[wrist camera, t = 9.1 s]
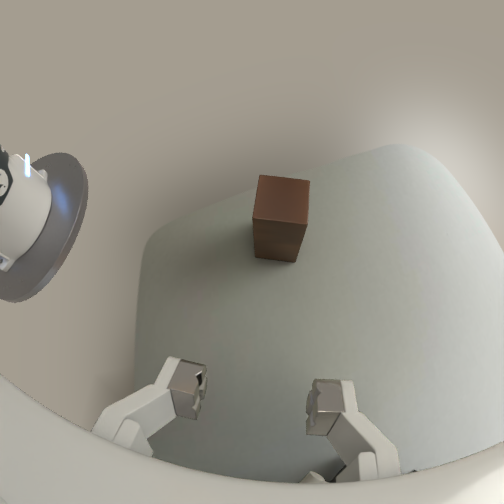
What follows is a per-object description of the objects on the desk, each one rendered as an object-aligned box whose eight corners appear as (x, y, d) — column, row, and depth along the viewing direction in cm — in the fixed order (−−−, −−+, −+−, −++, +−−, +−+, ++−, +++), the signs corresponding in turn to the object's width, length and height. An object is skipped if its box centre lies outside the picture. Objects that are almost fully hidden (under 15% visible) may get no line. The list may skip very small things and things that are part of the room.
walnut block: (254, 257, 27) (252, 218, 20) (260, 221, 28) (259, 174, 21) (295, 262, 27) (307, 224, 19) (298, 226, 28) (310, 180, 21)
